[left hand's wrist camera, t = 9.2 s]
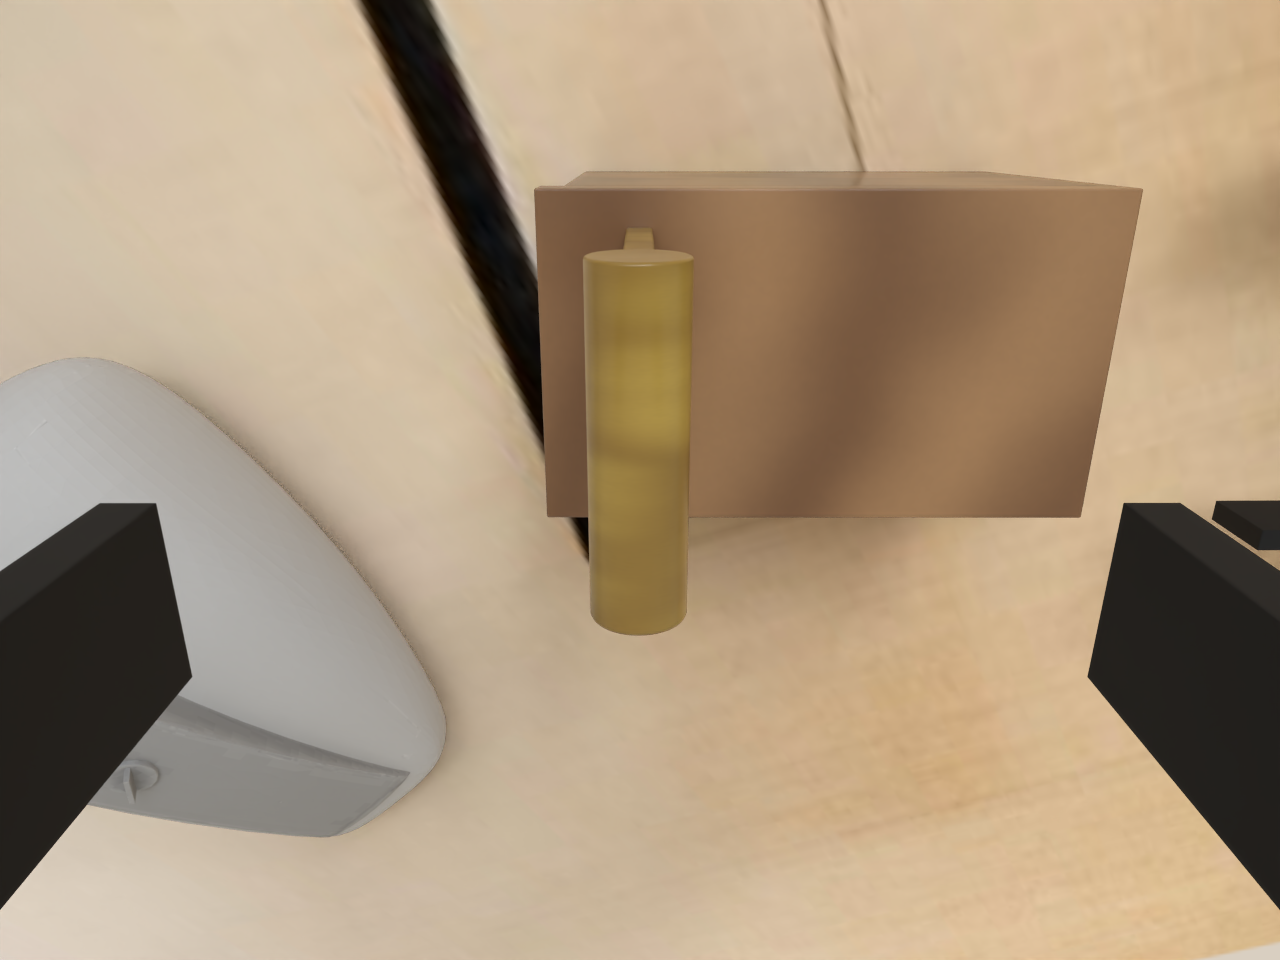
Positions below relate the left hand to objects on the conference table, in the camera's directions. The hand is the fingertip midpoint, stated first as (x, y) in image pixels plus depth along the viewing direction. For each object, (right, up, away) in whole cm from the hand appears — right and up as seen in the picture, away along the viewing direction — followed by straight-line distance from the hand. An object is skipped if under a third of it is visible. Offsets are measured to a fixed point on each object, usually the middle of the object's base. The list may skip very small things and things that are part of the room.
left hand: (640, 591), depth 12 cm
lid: (+5, +5, +14) cm, 16 cm away
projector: (-19, -4, +28) cm, 34 cm away
